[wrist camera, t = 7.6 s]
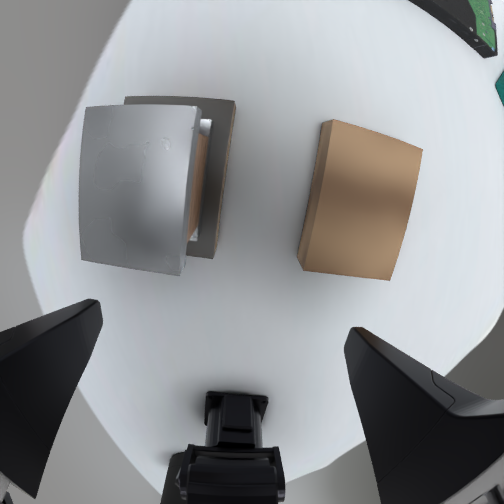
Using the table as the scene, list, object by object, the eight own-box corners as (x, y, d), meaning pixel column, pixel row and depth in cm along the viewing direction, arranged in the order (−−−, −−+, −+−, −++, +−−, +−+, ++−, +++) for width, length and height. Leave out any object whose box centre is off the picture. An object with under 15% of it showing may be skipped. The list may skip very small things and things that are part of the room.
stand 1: (216, 246, 20) (213, 258, 18) (127, 234, 20) (114, 245, 17) (235, 107, 17) (234, 100, 14) (138, 102, 16) (125, 96, 14)
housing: (200, 234, 17) (179, 276, 12) (127, 225, 17) (81, 260, 11) (214, 122, 15) (196, 106, 9) (135, 118, 14) (86, 107, 9)
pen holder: (197, 475, 35) (193, 521, 25) (156, 455, 32) (146, 506, 23) (240, 466, 33) (240, 518, 24) (198, 445, 30) (191, 505, 21)
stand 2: (376, 267, 21) (389, 280, 19) (296, 256, 21) (303, 270, 18) (404, 148, 18) (422, 149, 15) (322, 122, 17) (333, 119, 15)
